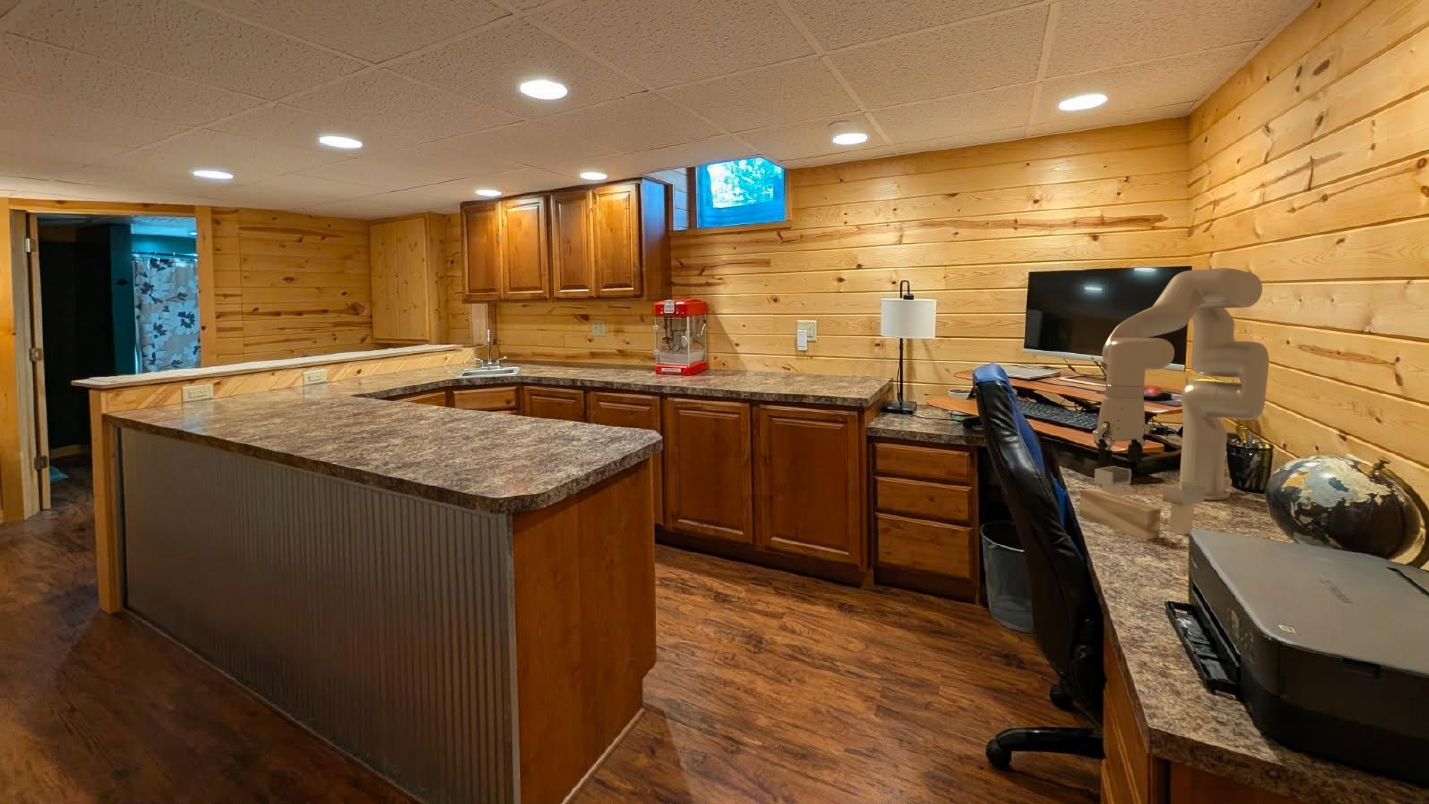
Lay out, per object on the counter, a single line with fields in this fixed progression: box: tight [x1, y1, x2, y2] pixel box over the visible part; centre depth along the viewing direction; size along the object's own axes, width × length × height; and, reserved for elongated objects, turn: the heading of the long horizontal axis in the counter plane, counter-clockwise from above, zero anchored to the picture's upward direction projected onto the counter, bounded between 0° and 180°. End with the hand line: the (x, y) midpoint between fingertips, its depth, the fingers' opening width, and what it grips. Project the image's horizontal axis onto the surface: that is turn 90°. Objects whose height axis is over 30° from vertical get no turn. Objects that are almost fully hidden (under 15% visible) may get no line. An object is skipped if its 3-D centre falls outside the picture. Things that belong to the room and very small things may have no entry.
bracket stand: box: [1094, 465, 1205, 536], centre depth 151 cm, size 7×22×11 cm, turn 19°
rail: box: [1079, 488, 1162, 541], centre depth 149 cm, size 4×18×7 cm, turn 16°
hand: (1119, 463), depth 147 cm, fingers open, 9 cm apart
